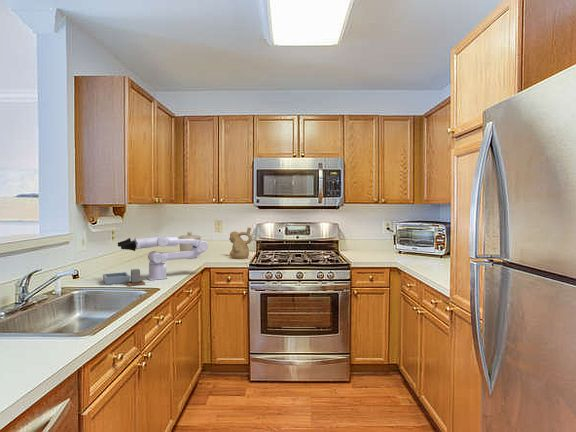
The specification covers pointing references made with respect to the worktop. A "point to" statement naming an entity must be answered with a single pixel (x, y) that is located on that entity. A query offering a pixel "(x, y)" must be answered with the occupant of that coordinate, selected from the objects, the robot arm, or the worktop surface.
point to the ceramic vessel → (240, 244)
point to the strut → (135, 276)
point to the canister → (187, 246)
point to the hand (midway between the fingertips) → (119, 245)
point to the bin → (116, 278)
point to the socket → (135, 283)
